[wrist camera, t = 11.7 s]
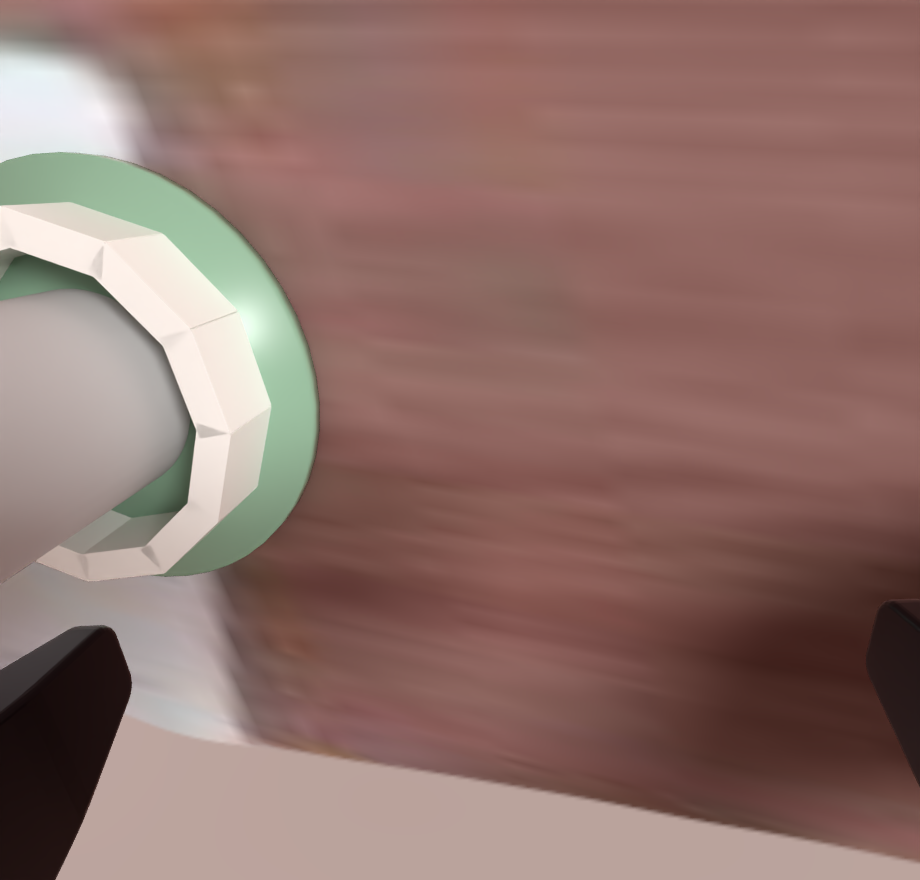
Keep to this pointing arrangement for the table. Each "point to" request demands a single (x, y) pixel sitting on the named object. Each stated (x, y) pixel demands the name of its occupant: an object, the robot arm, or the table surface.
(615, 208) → the table surface
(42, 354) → the beverage can
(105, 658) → the robot arm
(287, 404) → the cup
